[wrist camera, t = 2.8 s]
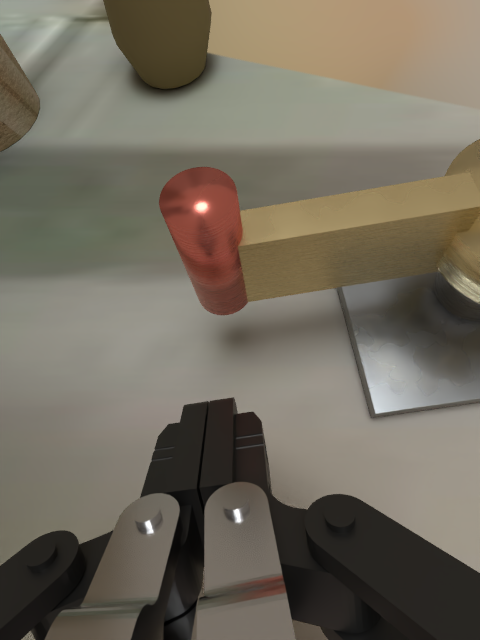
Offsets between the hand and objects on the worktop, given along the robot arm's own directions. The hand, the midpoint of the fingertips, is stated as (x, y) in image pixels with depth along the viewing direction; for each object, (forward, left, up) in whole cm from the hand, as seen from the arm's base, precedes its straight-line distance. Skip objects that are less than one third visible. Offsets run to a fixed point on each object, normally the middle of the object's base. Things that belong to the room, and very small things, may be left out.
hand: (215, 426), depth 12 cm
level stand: (+14, +8, -10) cm, 19 cm away
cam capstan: (+9, +7, -4) cm, 12 cm away
